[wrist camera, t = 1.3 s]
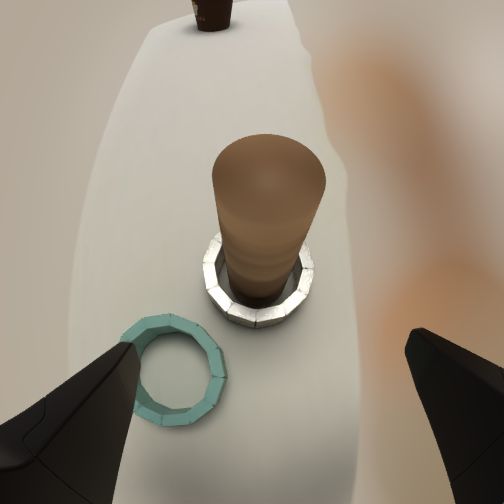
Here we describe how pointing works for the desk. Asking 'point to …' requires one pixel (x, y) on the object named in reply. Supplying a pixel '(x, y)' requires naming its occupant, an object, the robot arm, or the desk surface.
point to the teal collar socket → (171, 323)
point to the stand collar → (246, 314)
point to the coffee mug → (212, 14)
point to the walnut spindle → (265, 211)
